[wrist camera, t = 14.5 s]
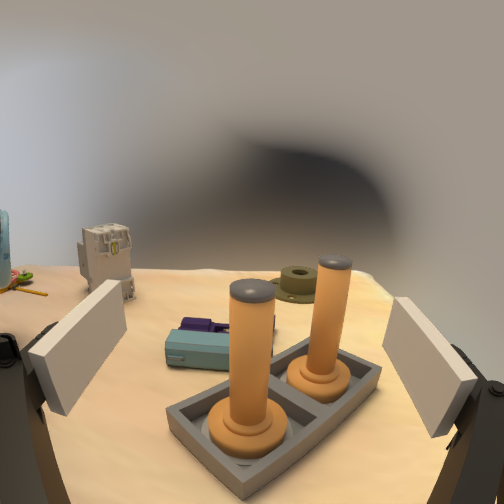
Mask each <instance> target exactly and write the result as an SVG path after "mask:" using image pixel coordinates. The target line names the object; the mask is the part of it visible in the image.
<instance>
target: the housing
mask: <svg viewBox="0 0 504 504" xmlns="http://www.w3.org/2000/svg"><path fill="white" fill-rule="evenodd" d="M309 340H310V337H308V338H306V339H305V340H303V341H301V342H299V343H298V344H296V345H294V346H292V347H290V348H289V349H287V350H285V351H283V352H281V353H279V354H278V355H276V356H274V357H272V358H271V363H270V375H269V387H268V398H269V399H271V400H273V401H274V402H276V403H277V404H279V405H280V406H281V407H282V409H283V410H284V411H285V413H286V416H287V428H286V434H285V439H284V441H283V443H282V445H280V446H279V447H278V448H276V449H275V450H273V451H272V452H271V453H269V454H268V455H266V456H265V457H262V458H257V459H239V458H234V457H231V456H228V455H226V454H224V453H223V452H222V451H221V450H220V449H219V448H217V447H216V446H215V445H214V444H213V443H212V442H211V440H210V437H209V429H208V415H209V412H210V410H211V409H212V407H213V406H214V405H215V404H216V403H217V402H219V401H220V400H222V399H224V398H227V397H229V380H227V381H225V382H223V383H221V384H218V385H216V386H214V387H212V388H210V389H208V390H206V391H203V392H201V393H199V394H197V395H195V396H192V397H190V398H188V399H186V400H183V401H181V402H179V403H177V404H174V405H172V406H170V407H167V408H166V413H167V419H168V424H169V429H170V431H171V432H172V433H173V434H174V435H175V436H176V437H177V438H178V439H179V440H180V441H181V443H182V444H183V445H184V446H185V447H186V448H187V449H188V450H189V451H190V452H191V453H192V454H193V455H194V456H195V457H196V458H197V459H198V460H199V461H200V462H201V463H202V464H203V465H204V466H205V467H206V468H207V469H208V470H209V471H210V472H211V473H212V474H213V475H214V476H215V477H216V478H218V479H219V480H220V481H221V482H222V483H223V484H224V485H225V486H226V487H227V488H229V489H230V490H231V491H232V492H233V493H234V494H235V495H236V496H238V497H239V498H240V499H241V500H242V501H243V500H244V499H246V498H247V497H249V496H250V495H252V494H253V493H255V492H256V491H257V490H259V489H260V488H262V487H263V486H265V485H266V484H267V483H269V482H270V481H272V480H273V479H274V478H276V477H277V476H278V475H280V474H281V473H282V472H284V471H285V470H286V469H288V468H289V467H290V466H291V465H293V464H294V463H295V462H296V461H298V460H299V459H300V458H301V457H303V456H304V455H305V454H306V453H307V452H309V451H310V450H311V449H312V448H313V447H315V446H316V445H317V444H318V443H319V442H320V441H322V440H323V439H324V438H325V437H326V436H327V435H328V434H329V433H331V432H332V431H333V430H334V429H335V428H336V427H337V426H338V425H339V424H340V423H341V422H342V421H343V420H345V419H346V418H347V417H348V416H349V415H350V414H351V413H352V412H353V411H354V410H355V409H356V408H357V407H358V406H359V405H360V404H361V403H362V402H363V401H364V400H365V399H366V398H367V397H368V396H369V395H370V394H371V393H372V392H373V391H374V389H375V388H376V387H377V383H378V380H379V377H380V374H381V370H382V367H380V366H378V365H376V364H373V363H371V362H369V361H366V360H364V359H362V358H359V357H357V356H355V355H353V354H350V353H348V352H346V351H343V350H341V349H338V354H337V359H338V360H340V361H341V362H343V363H344V364H345V365H346V366H347V367H348V368H349V370H350V374H351V376H350V381H349V385H348V389H347V392H346V393H345V394H344V395H343V396H342V397H341V398H339V399H338V400H337V401H335V402H332V403H328V404H321V403H319V402H318V401H316V400H314V399H312V398H310V397H309V396H307V395H305V394H303V393H302V392H300V391H298V390H297V389H295V388H293V387H291V386H290V385H288V384H286V377H287V369H288V366H289V364H290V363H291V362H292V361H293V360H294V359H296V358H298V357H301V356H304V355H307V354H308V347H309Z"/></svg>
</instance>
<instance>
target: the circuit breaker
mask: <svg viewBox="0 0 504 504" xmlns="http://www.w3.org/2000/svg"><path fill="white" fill-rule="evenodd" d="M128 230H130V228H127V227H125V226H122V225H118V224H115V223H109V224H104V225H98V226H92V227H86V228H82V235H83V241H81V242H77V248H78V258H79V266H80V274H81V275H82V276H83V277H84V278H86V279H87V281H88V285H89V294H91V293H92V292H93V291H94V290H95V289H97V288H98V287H99V286H100V285H101V284H102V283H104V282H105V281H106V280H107V279H109V280H118V281H121V287H122V296H123V303H124V302H127V301H130V300H133V299H136V297H134V293H133V292H135V287H134V278H133V277H132V276H131V267H130V252H129V249H131V237H130V235H129V233H128ZM128 242H129V245H128ZM131 286H132V287H133V289H132V287H131Z"/></svg>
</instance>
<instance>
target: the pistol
mask: <svg viewBox="0 0 504 504" xmlns="http://www.w3.org/2000/svg"><path fill="white" fill-rule="evenodd" d="M274 328H275V315H274V324H273V331H274ZM165 356H166V364H167V365H172V366H181V367H190V368H201V369H212V370H226V371H229V324H221V323H215V322H211V319H205V318H191V317H184V318H183V320H182V322H181V326H180V327H179V328H178V330H177V329H172V330H171V332H170V334H169V336H168V338H167V340H166V341H165ZM272 356H273V338H272V350H271V358H272Z"/></svg>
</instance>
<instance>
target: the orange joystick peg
mask: <svg viewBox="0 0 504 504" xmlns="http://www.w3.org/2000/svg"><path fill="white" fill-rule="evenodd" d="M275 296H276V286H275V285H274V284H273V283H271V282H269V281H265V280H261V279H241V280H237V281H234V282H233V283H231V284H230V314H229V397H227V398H224V399H222V400H220V401H219V402H217V403H216V404H215V405H214V406H213V407H212V409H211V410H210V412H209V415H208V429H209V437H210V440H211V442H212V443H213V444H214V445H215V446H216V447H217V448H219V449H220V450H221V451H222V452H223V453H224V454H226V455H228V456H231V457H234V458H239V459H257V458H262V457H265V456H266V455H268V454H269V453H271V452H272V451H273V450H275V449H276V448H278V447H279V446H280V445H282V443H283V441H284V439H285V434H286V428H287V416H286V413H285V411H284V410H283V409H282V407H281V406H280V405H279V404H277V403H276V402H274V401H273V400H271V399H269V398H268V387H269V375H270V363H271V350H272V337H273V324H274V310H275Z"/></svg>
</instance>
